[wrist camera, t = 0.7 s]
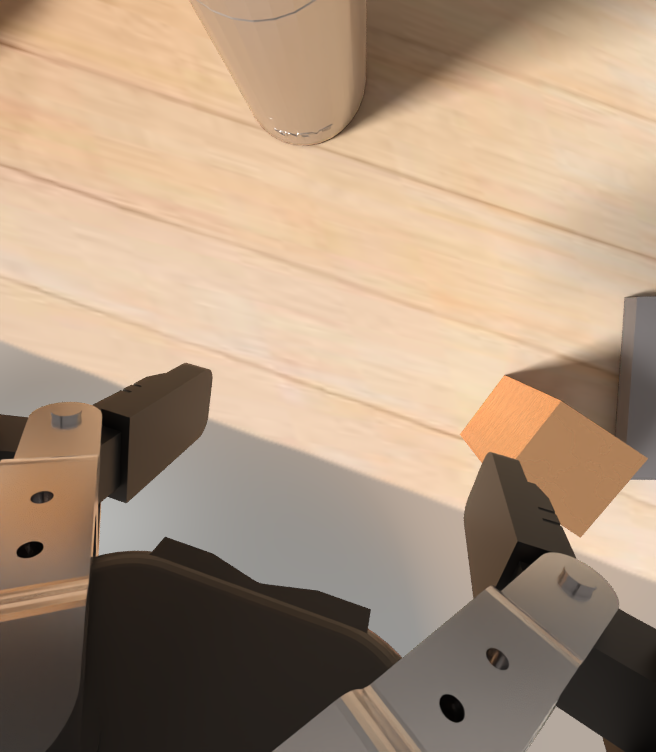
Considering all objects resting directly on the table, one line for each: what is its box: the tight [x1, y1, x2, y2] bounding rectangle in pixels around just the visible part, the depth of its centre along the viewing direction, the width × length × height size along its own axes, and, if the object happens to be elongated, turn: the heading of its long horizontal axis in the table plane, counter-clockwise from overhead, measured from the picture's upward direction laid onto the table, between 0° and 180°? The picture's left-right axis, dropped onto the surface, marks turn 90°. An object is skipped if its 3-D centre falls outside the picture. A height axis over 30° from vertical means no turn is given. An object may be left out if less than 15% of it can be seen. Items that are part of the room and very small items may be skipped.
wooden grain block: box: [460, 375, 648, 538], centre depth 30 cm, size 6×6×10 cm
